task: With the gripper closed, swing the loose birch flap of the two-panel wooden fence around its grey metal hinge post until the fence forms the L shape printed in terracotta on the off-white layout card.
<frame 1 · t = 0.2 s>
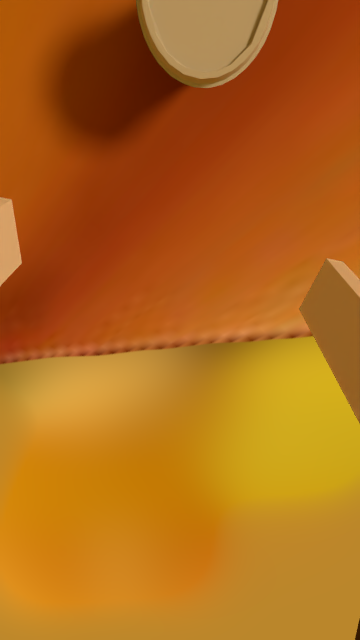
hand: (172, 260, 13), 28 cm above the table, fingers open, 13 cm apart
disposable coffee cup: (200, 25, 28), on the table
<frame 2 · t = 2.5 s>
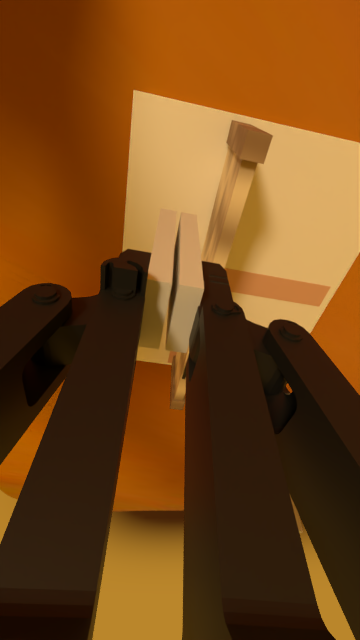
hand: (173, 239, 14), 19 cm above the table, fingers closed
layout card: (230, 279, 38), on the table
fence fixed: (200, 275, 37), resting on layout card
fence flap: (223, 219, 28), point 5 cm above the table, hinge at 0.0°
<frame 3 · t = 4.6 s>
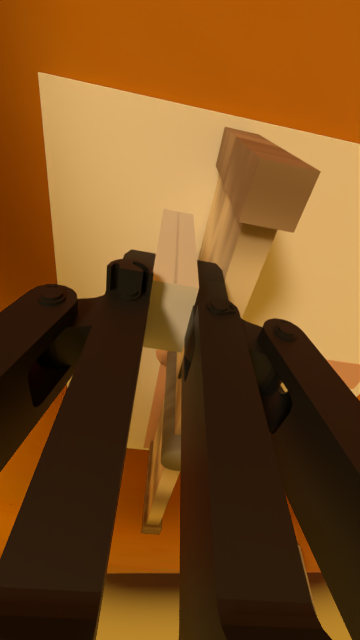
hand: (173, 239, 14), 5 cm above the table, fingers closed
layout card: (225, 355, 26), on the table
fence fixed: (181, 353, 25), resting on layout card
fence flap: (210, 300, 16), point 5 cm above the table, hinge at 0.4°, touching gripper
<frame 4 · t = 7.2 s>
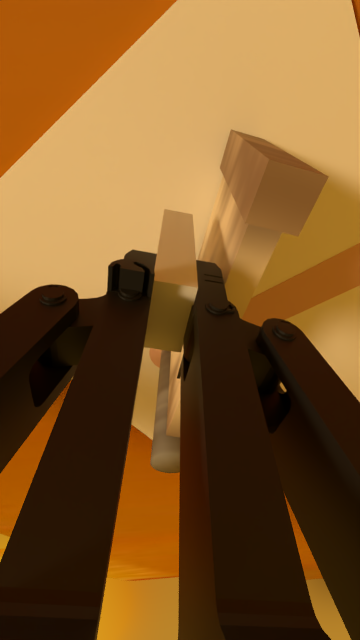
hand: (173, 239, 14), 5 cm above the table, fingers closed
layout card: (215, 331, 24), on the table
fence fixed: (175, 354, 25), resting on layout card
fence flap: (209, 301, 16), point 5 cm above the table, hinge at 48.0°, touching gripper
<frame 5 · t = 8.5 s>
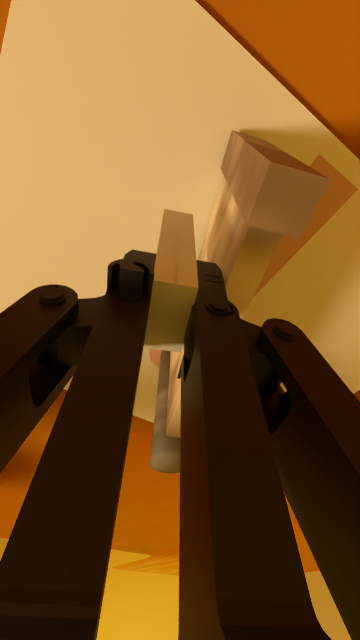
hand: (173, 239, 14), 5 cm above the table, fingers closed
layout card: (201, 320, 23), on the table
fence fixed: (174, 354, 25), resting on layout card
fence flap: (209, 302, 16), point 5 cm above the table, hinge at 70.7°, touching gripper
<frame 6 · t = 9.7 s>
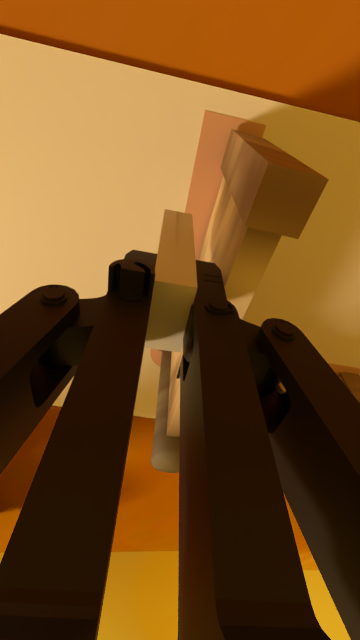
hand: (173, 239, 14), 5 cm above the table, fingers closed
layout card: (185, 314, 23), on the table
fence fixed: (175, 353, 25), resting on layout card
fence flap: (209, 302, 16), point 5 cm above the table, hinge at 92.7°, touching gripper
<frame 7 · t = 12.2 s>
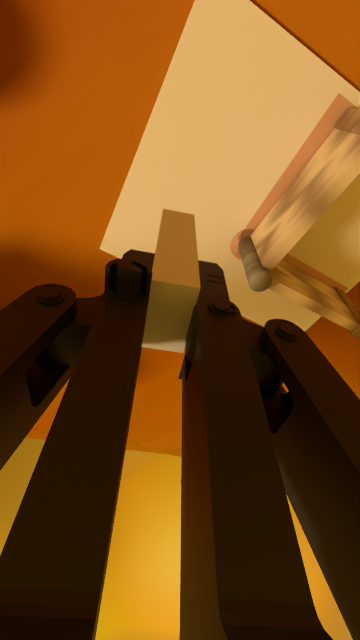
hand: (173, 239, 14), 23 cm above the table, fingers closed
layout card: (265, 217, 36), on the table
fence fixed: (247, 244, 38), resting on layout card
fence flap: (309, 194, 30), point 5 cm above the table, hinge at 92.8°
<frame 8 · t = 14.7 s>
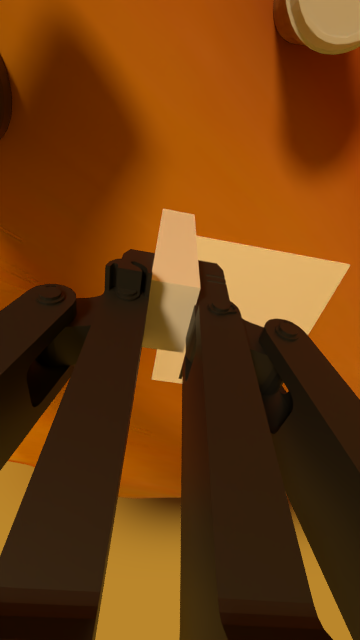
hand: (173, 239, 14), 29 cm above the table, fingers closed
layout card: (234, 330, 56), on the table
disposable coffee cup: (304, 2, 30), on the table
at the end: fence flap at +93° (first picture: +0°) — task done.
